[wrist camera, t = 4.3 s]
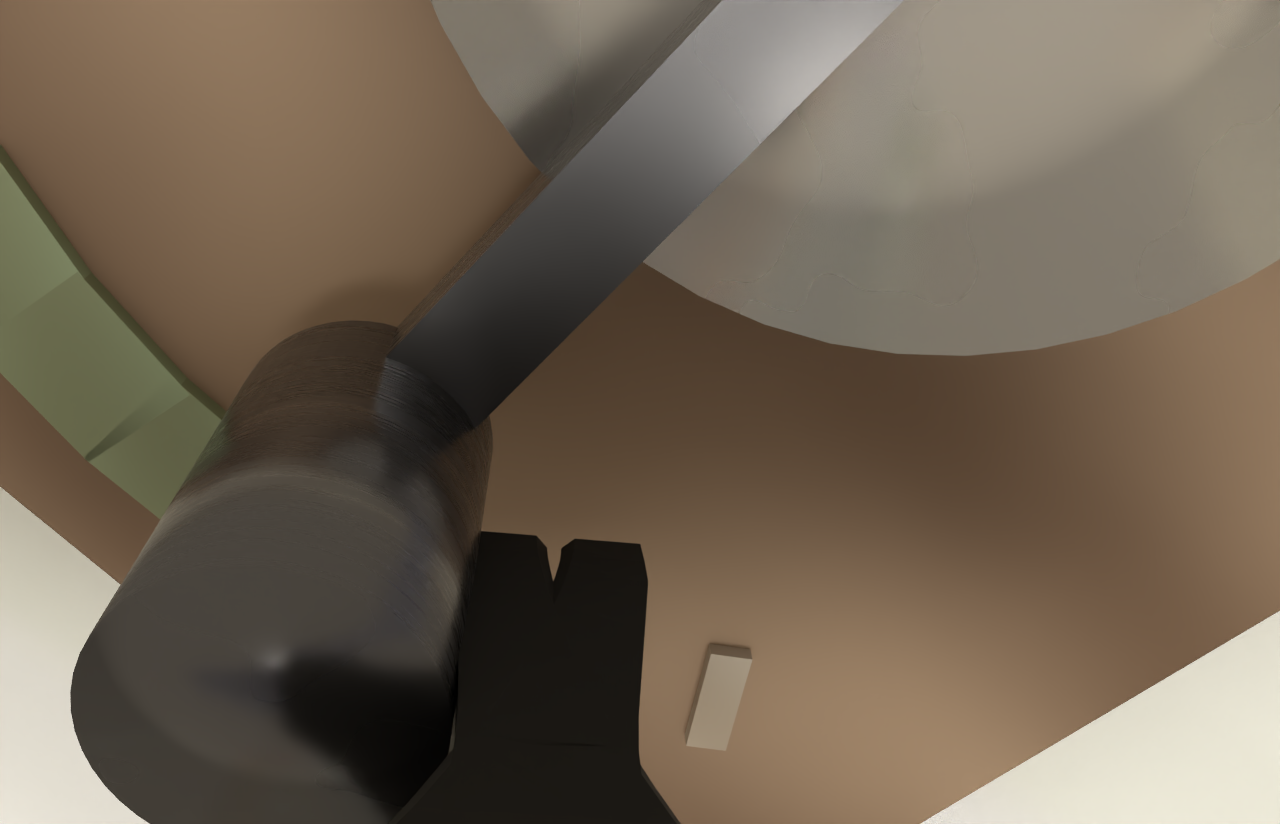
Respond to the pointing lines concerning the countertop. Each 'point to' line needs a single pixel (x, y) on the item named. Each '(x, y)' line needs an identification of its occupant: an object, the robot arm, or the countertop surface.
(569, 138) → the dial
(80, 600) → the countertop surface
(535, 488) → the plate
